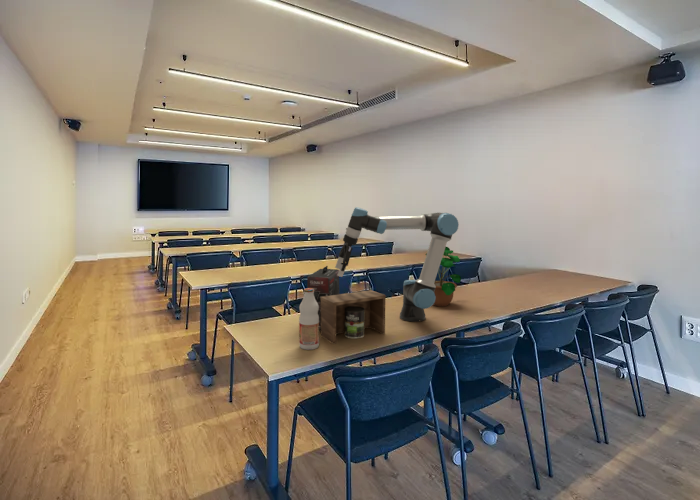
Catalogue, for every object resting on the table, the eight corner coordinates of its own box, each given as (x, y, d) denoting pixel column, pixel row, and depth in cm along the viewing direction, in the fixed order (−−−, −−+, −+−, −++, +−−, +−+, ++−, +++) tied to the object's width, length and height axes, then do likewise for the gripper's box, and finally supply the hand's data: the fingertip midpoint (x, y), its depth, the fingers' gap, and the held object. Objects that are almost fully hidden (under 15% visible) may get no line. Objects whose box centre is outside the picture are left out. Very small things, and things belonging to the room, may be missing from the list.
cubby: (370, 326, 215) (371, 290, 212) (384, 333, 203) (385, 295, 201) (320, 335, 199) (320, 296, 197) (333, 343, 188) (333, 302, 185)
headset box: (329, 331, 205) (329, 270, 201) (306, 330, 208) (306, 269, 204) (340, 318, 229) (340, 263, 225) (319, 317, 231) (319, 262, 227)
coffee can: (361, 339, 194) (361, 312, 192) (341, 337, 197) (341, 310, 195) (366, 333, 204) (366, 307, 202) (347, 331, 207) (348, 305, 205)
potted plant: (434, 312, 243) (436, 250, 239) (415, 301, 271) (417, 245, 266) (477, 309, 251) (480, 249, 246) (455, 298, 279) (457, 244, 274)
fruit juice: (308, 351, 177) (308, 292, 174) (295, 346, 184) (294, 289, 180) (323, 346, 184) (323, 288, 181) (310, 341, 191) (309, 285, 187)
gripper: (342, 229, 217) (330, 263, 221) (348, 239, 193) (334, 277, 197) (354, 233, 219) (342, 267, 223) (362, 243, 195) (347, 281, 199)
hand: (338, 272), depth 210 cm, fingers open, 13 cm apart
